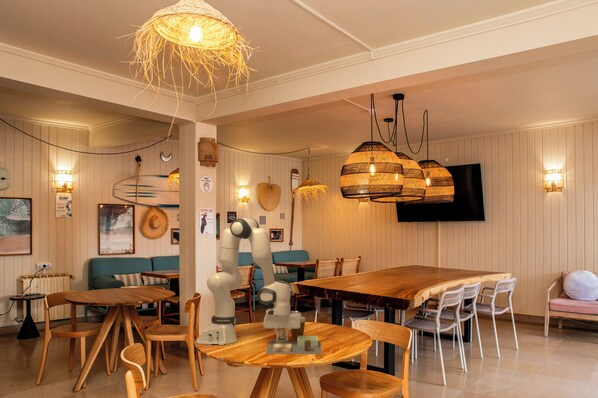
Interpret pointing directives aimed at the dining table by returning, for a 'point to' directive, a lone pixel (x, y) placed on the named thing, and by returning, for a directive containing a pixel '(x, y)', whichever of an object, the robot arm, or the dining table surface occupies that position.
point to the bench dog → (307, 345)
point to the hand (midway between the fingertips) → (281, 336)
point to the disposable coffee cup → (299, 331)
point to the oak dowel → (281, 334)
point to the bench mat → (294, 349)
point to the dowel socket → (281, 341)
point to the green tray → (302, 339)
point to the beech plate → (282, 348)
